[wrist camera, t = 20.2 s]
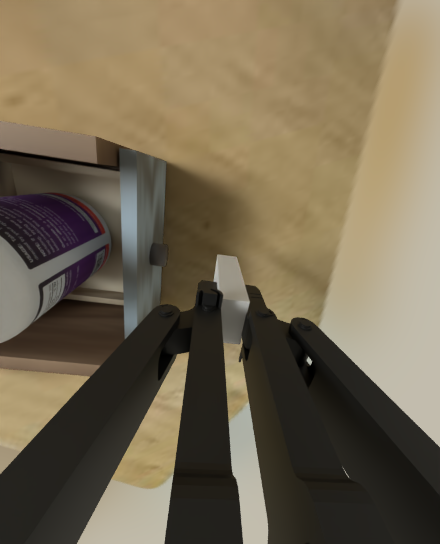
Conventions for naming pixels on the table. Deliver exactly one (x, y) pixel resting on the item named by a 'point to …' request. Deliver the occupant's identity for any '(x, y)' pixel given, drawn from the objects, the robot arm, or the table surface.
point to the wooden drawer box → (66, 313)
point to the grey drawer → (109, 222)
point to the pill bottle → (45, 254)
